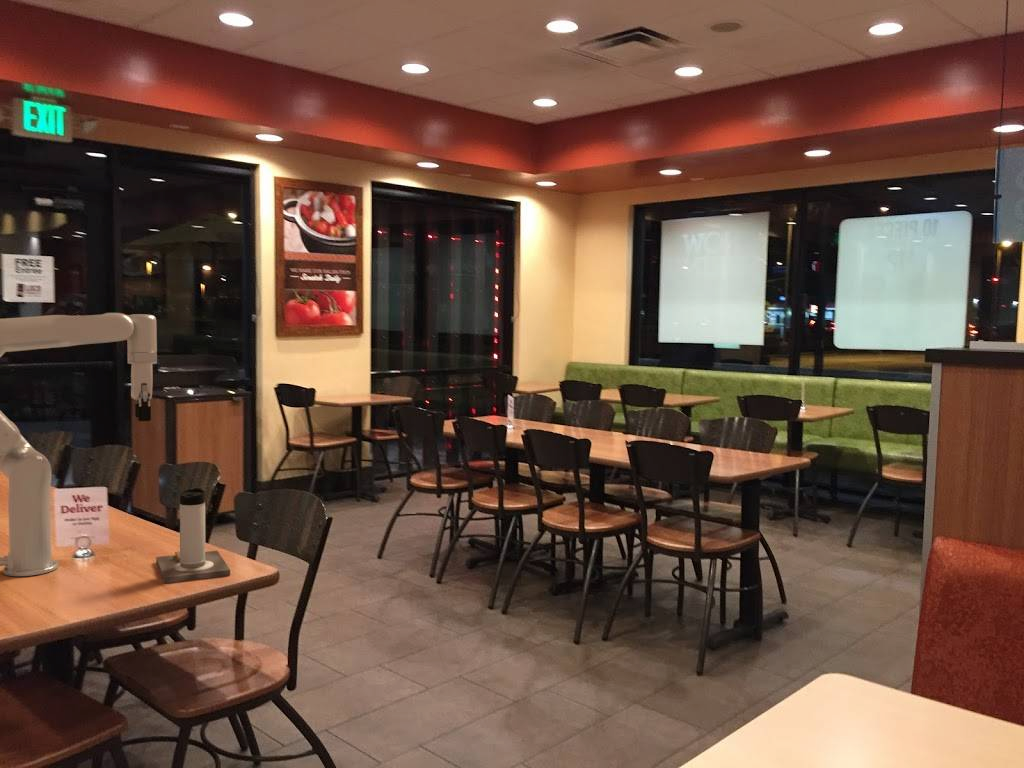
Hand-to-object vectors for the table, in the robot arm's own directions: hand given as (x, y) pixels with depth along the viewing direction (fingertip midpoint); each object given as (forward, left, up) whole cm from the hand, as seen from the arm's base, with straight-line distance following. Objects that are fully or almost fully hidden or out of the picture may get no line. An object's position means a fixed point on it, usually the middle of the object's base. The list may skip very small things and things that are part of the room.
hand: (143, 419), depth 237 cm
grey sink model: (+10, -22, -38) cm, 45 cm away
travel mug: (+10, -25, -37) cm, 45 cm away
